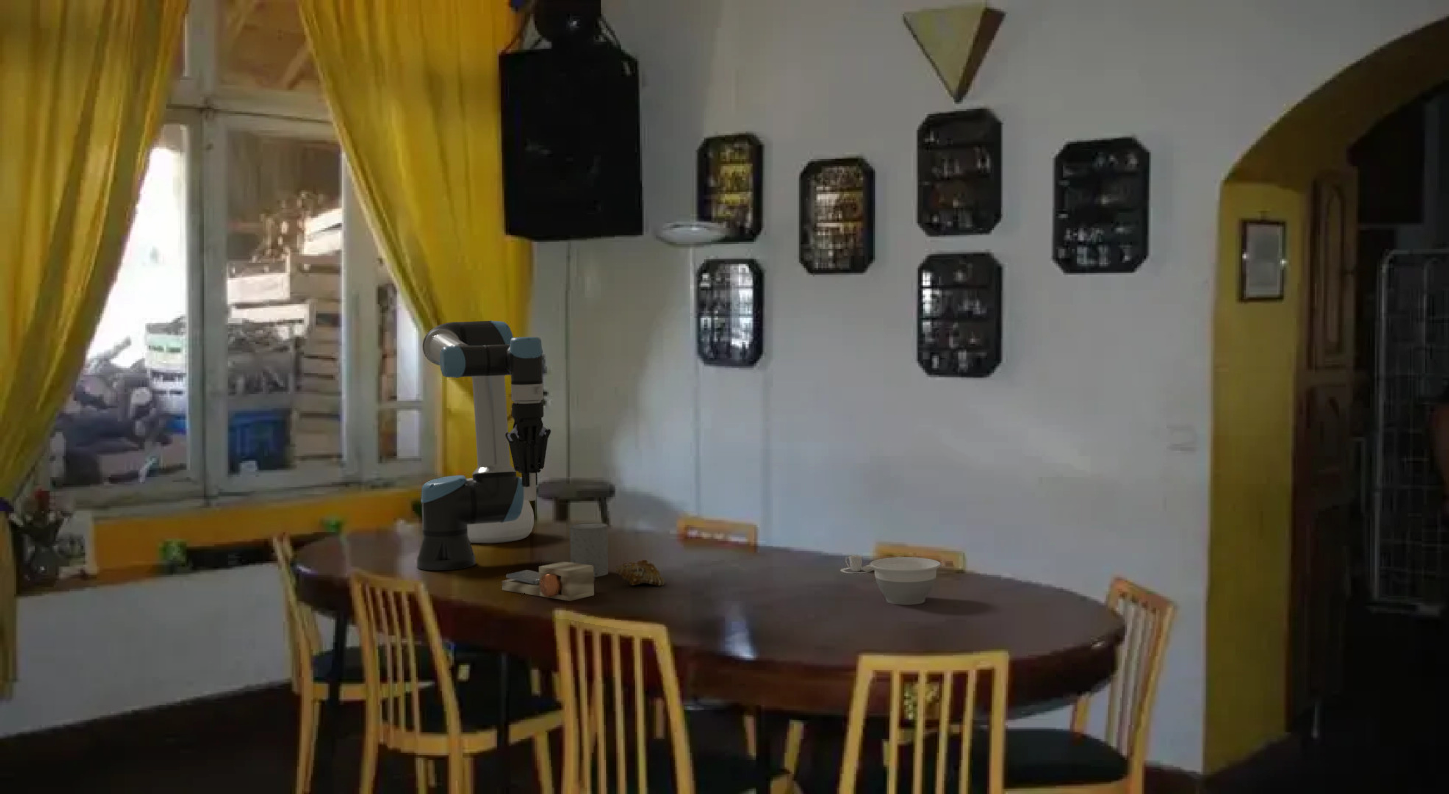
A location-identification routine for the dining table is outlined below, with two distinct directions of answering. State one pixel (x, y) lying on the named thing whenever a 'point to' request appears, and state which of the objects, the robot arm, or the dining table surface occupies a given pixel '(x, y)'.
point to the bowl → (905, 578)
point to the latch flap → (525, 576)
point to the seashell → (640, 573)
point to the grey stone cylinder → (590, 546)
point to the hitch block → (573, 581)
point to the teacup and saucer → (857, 564)
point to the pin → (551, 585)
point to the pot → (503, 528)
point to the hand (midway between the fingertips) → (530, 499)
